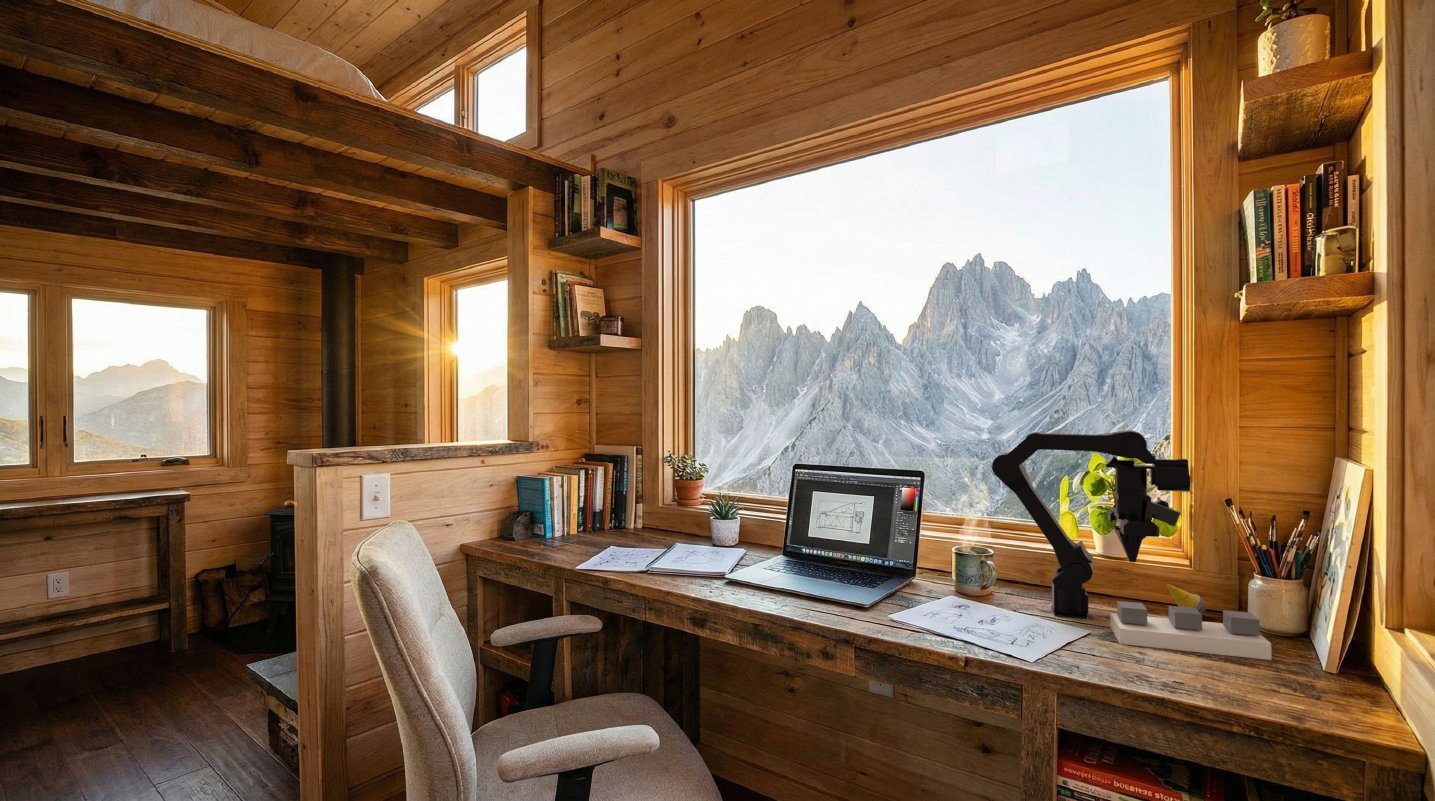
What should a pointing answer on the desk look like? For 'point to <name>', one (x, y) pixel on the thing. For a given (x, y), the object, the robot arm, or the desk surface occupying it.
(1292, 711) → the desk surface
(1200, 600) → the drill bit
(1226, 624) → the button
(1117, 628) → the console
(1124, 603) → the button
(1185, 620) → the button middle
